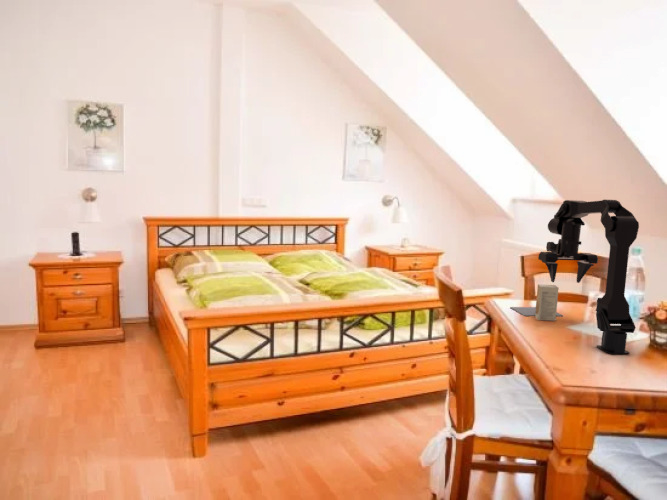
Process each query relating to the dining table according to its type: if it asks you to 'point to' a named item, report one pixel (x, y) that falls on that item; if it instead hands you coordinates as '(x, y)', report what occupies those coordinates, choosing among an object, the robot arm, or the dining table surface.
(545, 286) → the skincare box
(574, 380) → the dining table surface
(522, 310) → the felt mat
